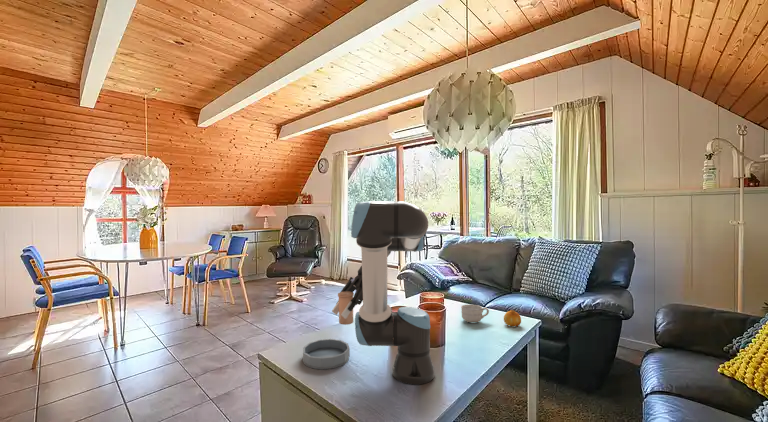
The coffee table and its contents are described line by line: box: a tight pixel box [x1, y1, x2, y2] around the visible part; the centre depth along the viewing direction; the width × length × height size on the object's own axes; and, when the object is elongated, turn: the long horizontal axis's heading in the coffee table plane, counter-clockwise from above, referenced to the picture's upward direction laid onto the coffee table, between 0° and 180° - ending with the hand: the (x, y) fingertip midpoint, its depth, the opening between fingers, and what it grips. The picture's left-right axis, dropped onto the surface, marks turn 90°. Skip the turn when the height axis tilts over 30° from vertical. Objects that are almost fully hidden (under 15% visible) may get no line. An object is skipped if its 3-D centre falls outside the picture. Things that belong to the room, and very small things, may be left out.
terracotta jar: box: [337, 291, 355, 326], centre depth 144 cm, size 7×7×12 cm
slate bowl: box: [302, 338, 351, 370], centre depth 138 cm, size 18×18×4 cm
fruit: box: [503, 309, 522, 327], centre depth 176 cm, size 8×8×8 cm
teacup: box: [460, 304, 490, 323], centre depth 181 cm, size 14×11×8 cm
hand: (338, 314), depth 142 cm, fingers closed on terracotta jar, 6 cm apart
